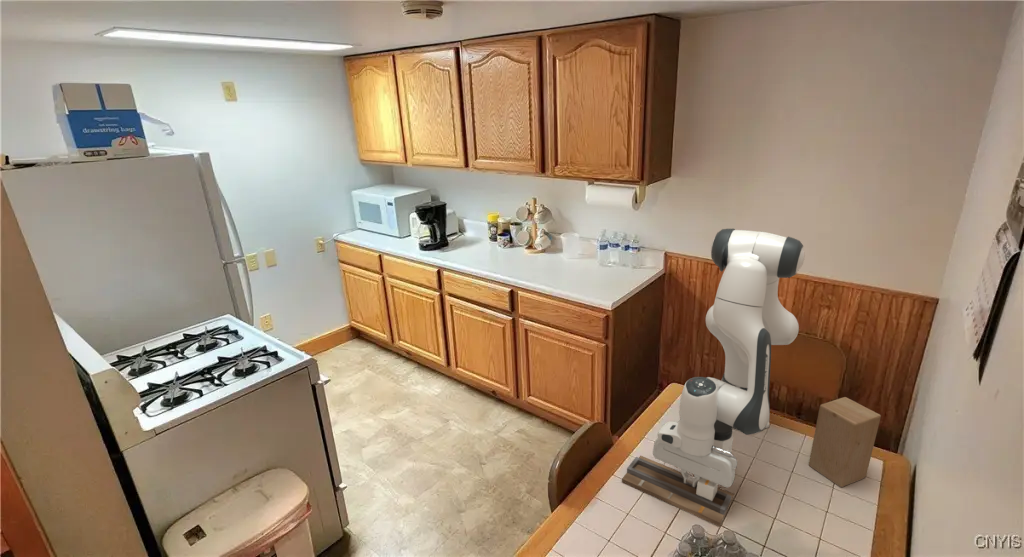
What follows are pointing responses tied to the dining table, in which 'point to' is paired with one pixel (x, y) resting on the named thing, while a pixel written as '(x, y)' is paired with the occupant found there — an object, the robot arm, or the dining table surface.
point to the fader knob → (706, 489)
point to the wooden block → (843, 441)
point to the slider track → (676, 490)
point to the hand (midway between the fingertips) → (690, 483)
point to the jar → (723, 436)
